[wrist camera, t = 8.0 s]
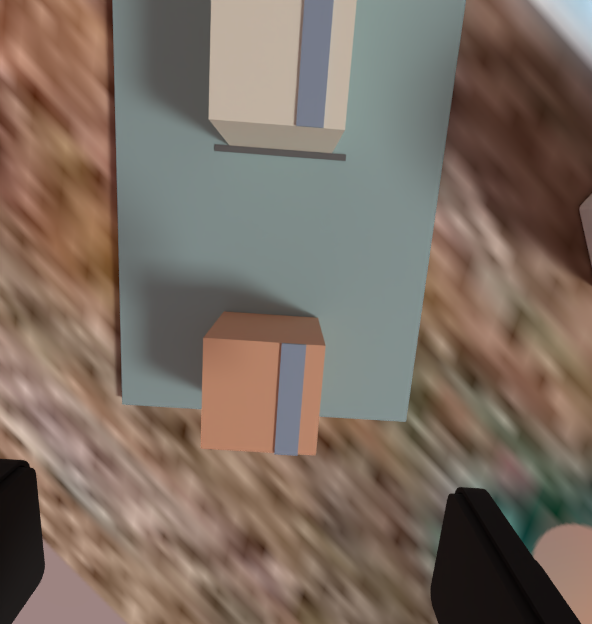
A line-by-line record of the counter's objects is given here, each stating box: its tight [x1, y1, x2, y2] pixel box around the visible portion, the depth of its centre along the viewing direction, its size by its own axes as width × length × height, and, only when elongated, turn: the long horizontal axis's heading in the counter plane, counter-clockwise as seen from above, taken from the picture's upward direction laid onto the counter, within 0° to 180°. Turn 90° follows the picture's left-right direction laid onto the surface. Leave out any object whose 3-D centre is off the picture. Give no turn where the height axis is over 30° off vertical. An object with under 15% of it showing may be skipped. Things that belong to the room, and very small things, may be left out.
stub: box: [201, 311, 326, 456], centre depth 19 cm, size 5×5×5 cm
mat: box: [112, 0, 466, 422], centre depth 20 cm, size 26×16×1 cm, turn 176°
